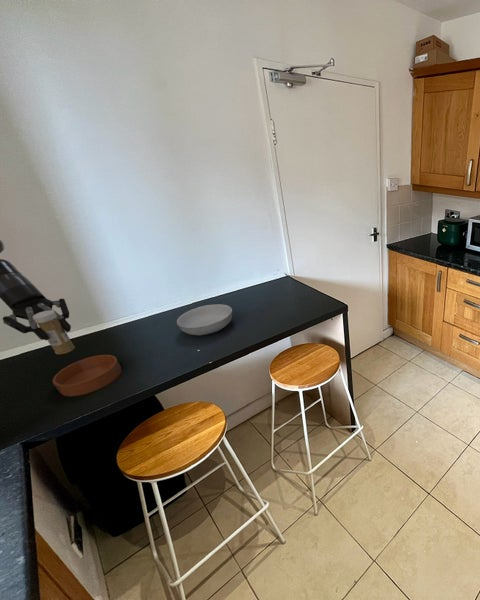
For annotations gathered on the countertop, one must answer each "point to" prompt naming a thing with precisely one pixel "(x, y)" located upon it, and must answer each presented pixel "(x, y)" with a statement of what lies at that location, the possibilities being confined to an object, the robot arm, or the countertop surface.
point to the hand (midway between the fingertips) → (58, 334)
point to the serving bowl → (205, 319)
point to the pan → (87, 375)
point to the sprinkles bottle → (54, 331)
